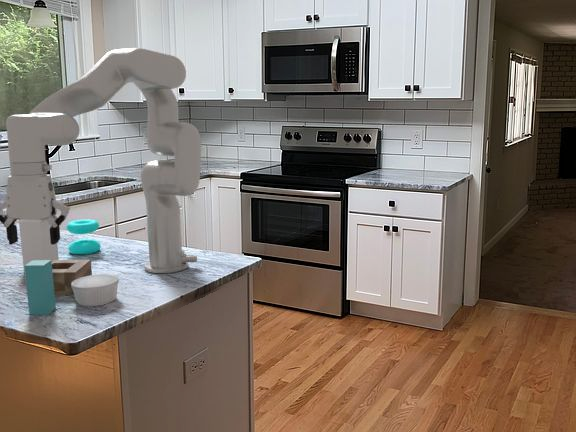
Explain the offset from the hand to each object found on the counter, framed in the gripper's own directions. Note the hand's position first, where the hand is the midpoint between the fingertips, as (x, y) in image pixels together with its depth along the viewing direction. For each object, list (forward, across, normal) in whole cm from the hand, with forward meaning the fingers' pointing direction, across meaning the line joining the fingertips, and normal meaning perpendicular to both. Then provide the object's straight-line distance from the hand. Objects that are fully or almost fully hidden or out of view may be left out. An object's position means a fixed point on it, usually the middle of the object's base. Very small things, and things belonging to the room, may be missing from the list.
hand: (34, 243), depth 143 cm
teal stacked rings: (+16, +9, -57) cm, 60 cm away
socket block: (+16, +2, -19) cm, 25 cm away
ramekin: (+17, -11, -8) cm, 22 cm away
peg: (+17, 0, -1) cm, 17 cm away
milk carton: (+16, +15, -37) cm, 43 cm away
